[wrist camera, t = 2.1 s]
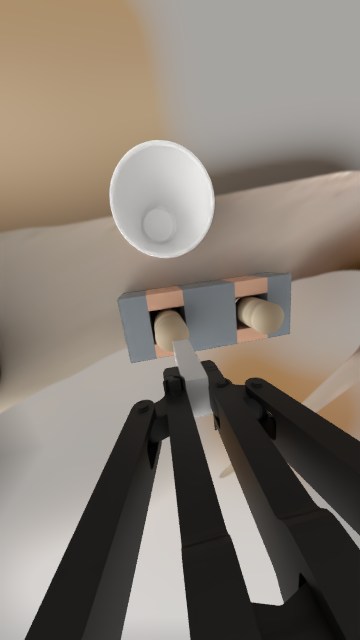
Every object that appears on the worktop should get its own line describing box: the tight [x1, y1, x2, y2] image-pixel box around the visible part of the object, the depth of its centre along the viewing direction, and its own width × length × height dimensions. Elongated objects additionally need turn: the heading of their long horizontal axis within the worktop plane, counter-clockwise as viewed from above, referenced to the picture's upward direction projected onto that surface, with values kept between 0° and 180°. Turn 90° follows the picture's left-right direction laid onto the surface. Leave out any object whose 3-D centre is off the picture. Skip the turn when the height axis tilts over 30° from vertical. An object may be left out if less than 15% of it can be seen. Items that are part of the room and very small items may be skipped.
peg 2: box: [235, 296, 284, 334], centre depth 27 cm, size 4×4×6 cm
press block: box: [117, 273, 291, 363], centre depth 30 cm, size 24×9×6 cm, turn 97°
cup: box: [109, 140, 215, 258], centre depth 24 cm, size 10×10×11 cm
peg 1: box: [154, 308, 190, 352], centre depth 26 cm, size 4×4×6 cm
